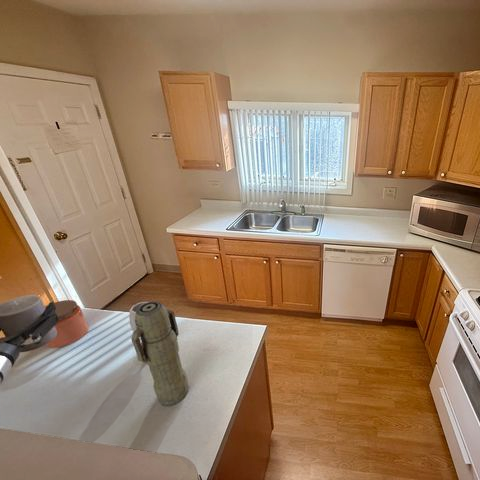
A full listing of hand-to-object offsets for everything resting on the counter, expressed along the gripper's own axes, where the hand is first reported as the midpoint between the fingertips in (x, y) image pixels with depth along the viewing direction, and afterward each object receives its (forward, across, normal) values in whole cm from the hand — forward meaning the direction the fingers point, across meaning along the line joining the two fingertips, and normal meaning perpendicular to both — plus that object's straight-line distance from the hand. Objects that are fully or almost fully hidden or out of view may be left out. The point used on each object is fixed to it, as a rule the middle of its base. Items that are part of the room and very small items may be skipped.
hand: (30, 310), depth 79 cm
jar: (+18, -3, -26) cm, 32 cm away
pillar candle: (-4, 0, -9) cm, 10 cm away
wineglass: (-5, +28, -26) cm, 39 cm away
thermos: (-28, +35, -26) cm, 51 cm away
